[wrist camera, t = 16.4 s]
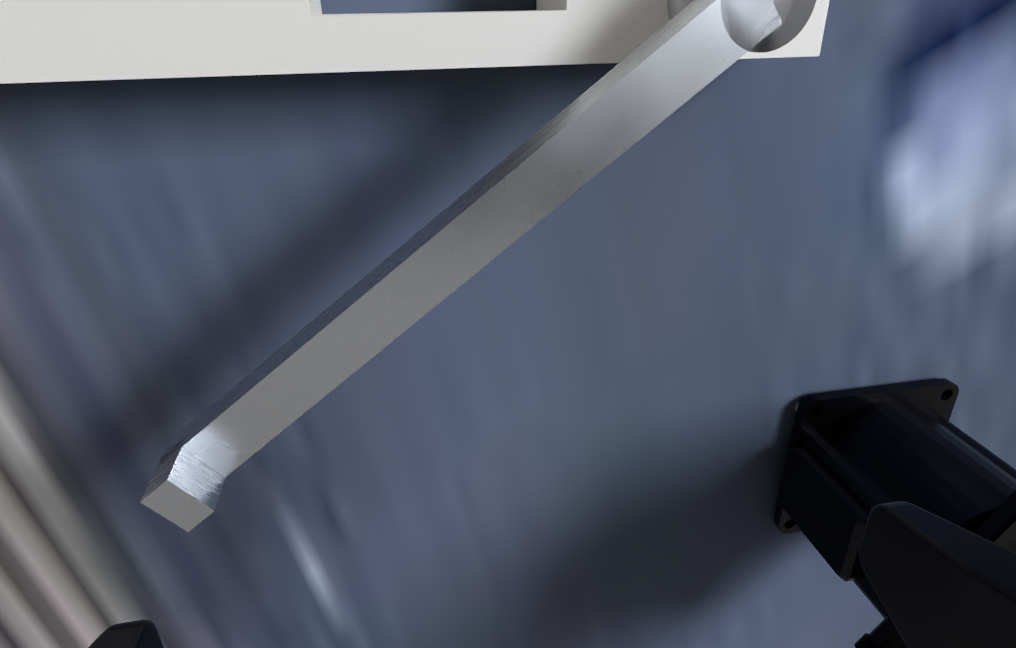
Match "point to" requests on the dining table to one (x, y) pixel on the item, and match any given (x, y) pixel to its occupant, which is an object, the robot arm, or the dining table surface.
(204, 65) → the power strip
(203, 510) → the clip
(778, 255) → the dining table surface
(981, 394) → the dining table surface
